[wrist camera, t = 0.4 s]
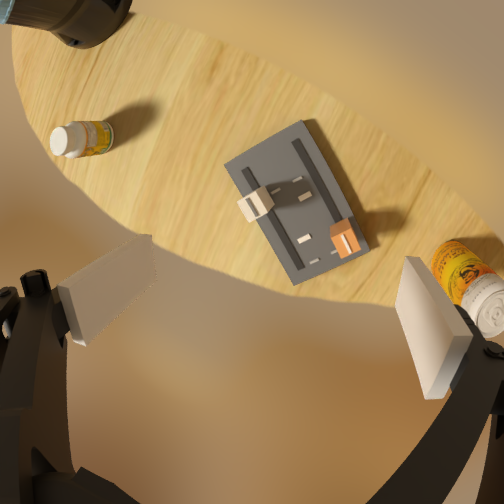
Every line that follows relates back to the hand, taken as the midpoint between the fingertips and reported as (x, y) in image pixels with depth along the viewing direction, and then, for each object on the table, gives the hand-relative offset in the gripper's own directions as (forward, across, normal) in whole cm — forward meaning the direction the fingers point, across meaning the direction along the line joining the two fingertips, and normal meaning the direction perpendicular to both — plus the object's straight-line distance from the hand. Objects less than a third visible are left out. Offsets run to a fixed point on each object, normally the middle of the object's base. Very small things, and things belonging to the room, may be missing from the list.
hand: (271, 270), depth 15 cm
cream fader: (+22, -5, -1) cm, 23 cm away
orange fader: (+22, +5, -4) cm, 23 cm away
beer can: (+24, +21, -7) cm, 33 cm away
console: (+24, 0, -2) cm, 24 cm away
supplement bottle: (+25, -30, +8) cm, 40 cm away
